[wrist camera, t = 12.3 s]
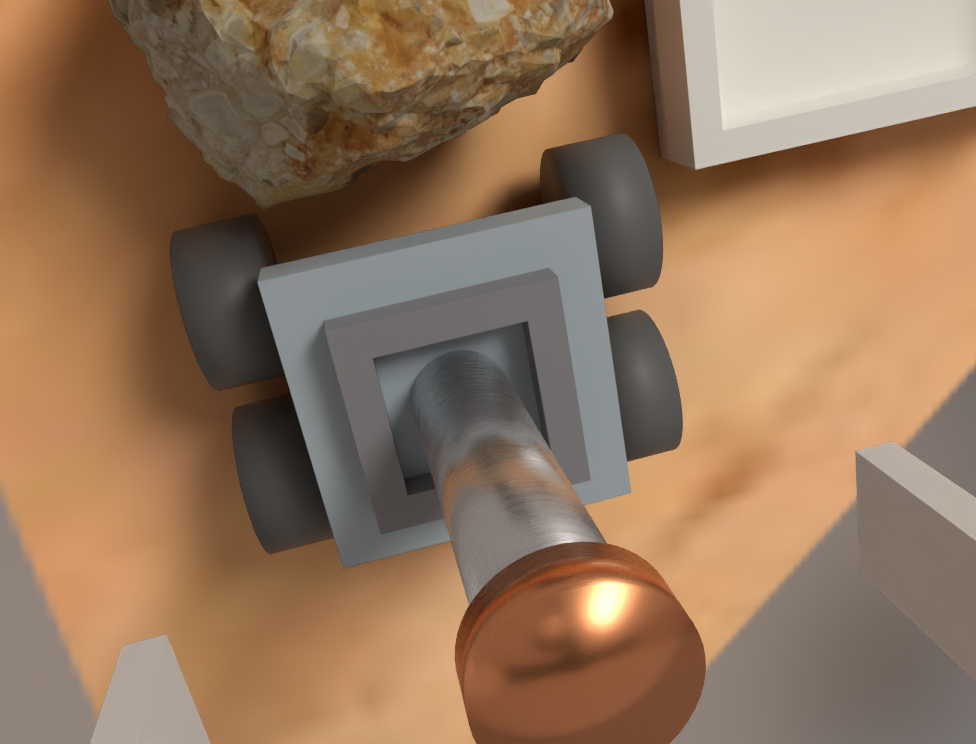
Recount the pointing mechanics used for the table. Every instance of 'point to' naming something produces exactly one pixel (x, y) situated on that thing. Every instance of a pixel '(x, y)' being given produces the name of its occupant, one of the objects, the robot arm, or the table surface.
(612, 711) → the pin
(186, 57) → the rock
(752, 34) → the tray
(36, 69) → the table surface
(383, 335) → the trolley
